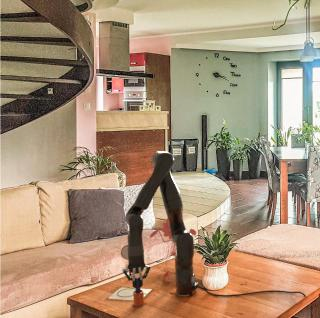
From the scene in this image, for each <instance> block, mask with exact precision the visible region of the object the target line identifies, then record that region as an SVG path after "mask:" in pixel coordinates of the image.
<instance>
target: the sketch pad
mask: <svg viewBox="0 0 320 318" xmlns="http://www.w3.org/2000/svg"><path fill="white" fill-rule="evenodd" d="M140 289H141V290H143V294H144V298H145V297H147V295H148V294H149V293H150V292H151V291H152V290H153V289H152V288H140ZM135 290H136V288H134V287H122V286H121V287H120V288H119V289H117V290H116V291H114V292H113V293H112V294H111V295H110V296H109V297H107V299H109V300H121V301H122V300H125V301H134V297H133V291H135Z"/></svg>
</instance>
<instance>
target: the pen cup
mask: <svg viewBox="0 0 320 318" xmlns="http://www.w3.org/2000/svg"><path fill="white" fill-rule="evenodd" d="M141 289H142V288H140V292H141V293H136V290H135V291H133V297H134V300H133V306H135V307H141V306H143V305H145V297H144V294H143V290H141Z"/></svg>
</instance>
